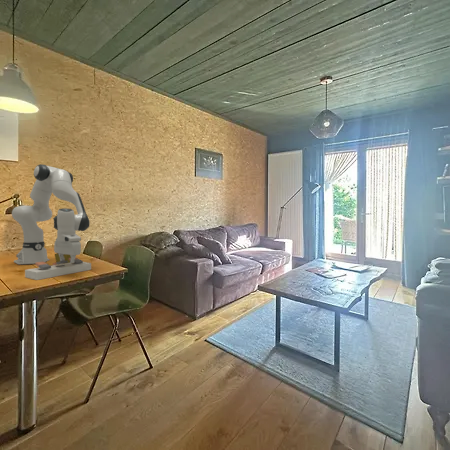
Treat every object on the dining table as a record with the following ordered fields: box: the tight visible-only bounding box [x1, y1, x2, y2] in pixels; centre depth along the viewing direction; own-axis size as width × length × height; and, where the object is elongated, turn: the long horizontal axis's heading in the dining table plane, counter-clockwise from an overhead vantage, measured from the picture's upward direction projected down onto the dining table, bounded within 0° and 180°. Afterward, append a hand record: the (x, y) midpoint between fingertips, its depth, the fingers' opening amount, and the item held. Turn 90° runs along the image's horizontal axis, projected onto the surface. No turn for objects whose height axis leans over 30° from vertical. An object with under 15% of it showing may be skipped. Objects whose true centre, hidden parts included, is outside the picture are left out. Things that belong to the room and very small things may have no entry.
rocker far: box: [69, 256, 84, 264], centre depth 159 cm, size 8×4×1 cm, turn 60°
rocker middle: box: [52, 260, 68, 266], centre depth 151 cm, size 8×4×1 cm, turn 60°
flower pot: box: [54, 253, 71, 265], centre depth 170 cm, size 9×9×9 cm
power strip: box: [24, 261, 92, 281], centre depth 153 cm, size 12×34×4 cm, turn 150°
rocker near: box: [34, 262, 52, 269], centre depth 143 cm, size 8×4×1 cm, turn 60°
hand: (67, 262), depth 148 cm, fingers open, 8 cm apart
